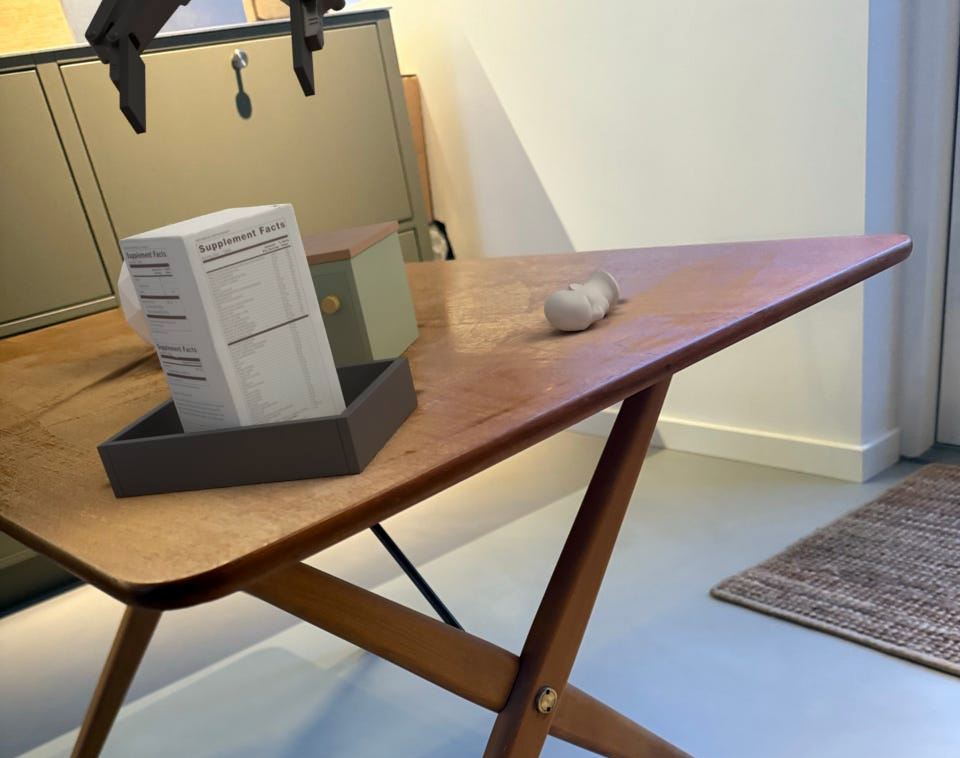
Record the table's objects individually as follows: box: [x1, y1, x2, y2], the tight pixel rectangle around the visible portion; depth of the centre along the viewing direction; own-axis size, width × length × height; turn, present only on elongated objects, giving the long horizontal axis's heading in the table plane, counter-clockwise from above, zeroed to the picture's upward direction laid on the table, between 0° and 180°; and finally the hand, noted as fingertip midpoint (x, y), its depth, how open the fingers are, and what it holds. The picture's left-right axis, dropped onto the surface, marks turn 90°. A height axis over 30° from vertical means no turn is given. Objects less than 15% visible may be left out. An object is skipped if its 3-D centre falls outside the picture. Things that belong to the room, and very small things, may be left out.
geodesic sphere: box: [117, 222, 173, 348], centre depth 116 cm, size 15×14×14 cm
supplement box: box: [118, 203, 346, 433], centre depth 75 cm, size 10×9×17 cm
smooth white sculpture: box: [543, 269, 621, 332], centre depth 95 cm, size 4×8×5 cm
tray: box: [96, 355, 419, 498], centre depth 78 cm, size 20×15×4 cm
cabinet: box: [301, 219, 420, 366], centre depth 97 cm, size 12×15×11 cm
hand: (217, 102), depth 77 cm, fingers open, 13 cm apart
